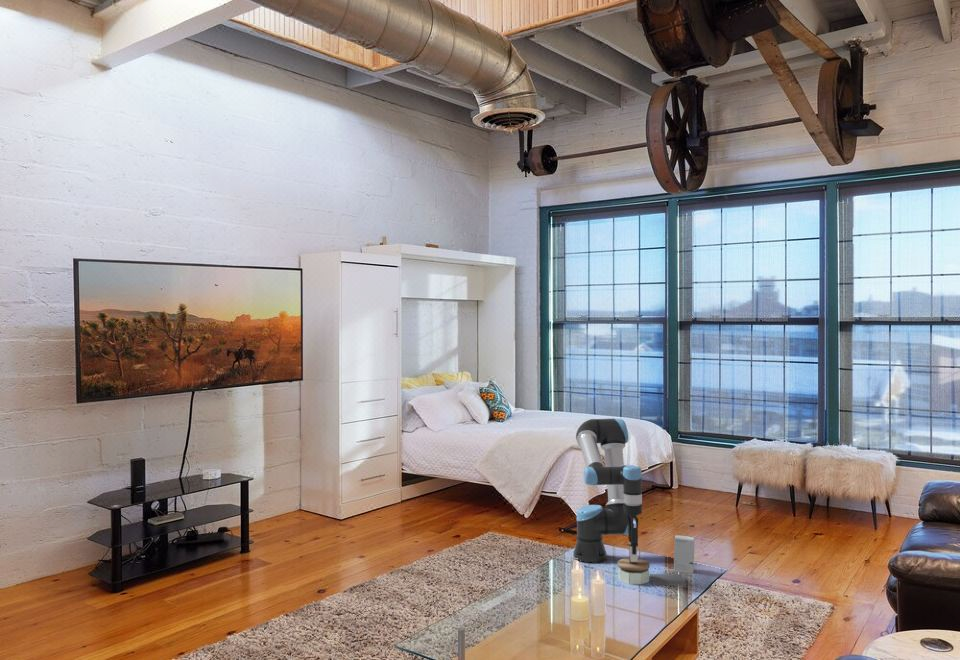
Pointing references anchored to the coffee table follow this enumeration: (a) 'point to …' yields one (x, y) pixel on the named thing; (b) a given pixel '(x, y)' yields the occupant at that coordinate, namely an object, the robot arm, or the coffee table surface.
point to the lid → (633, 564)
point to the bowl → (633, 576)
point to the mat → (668, 579)
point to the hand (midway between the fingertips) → (633, 559)
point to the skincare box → (683, 554)
